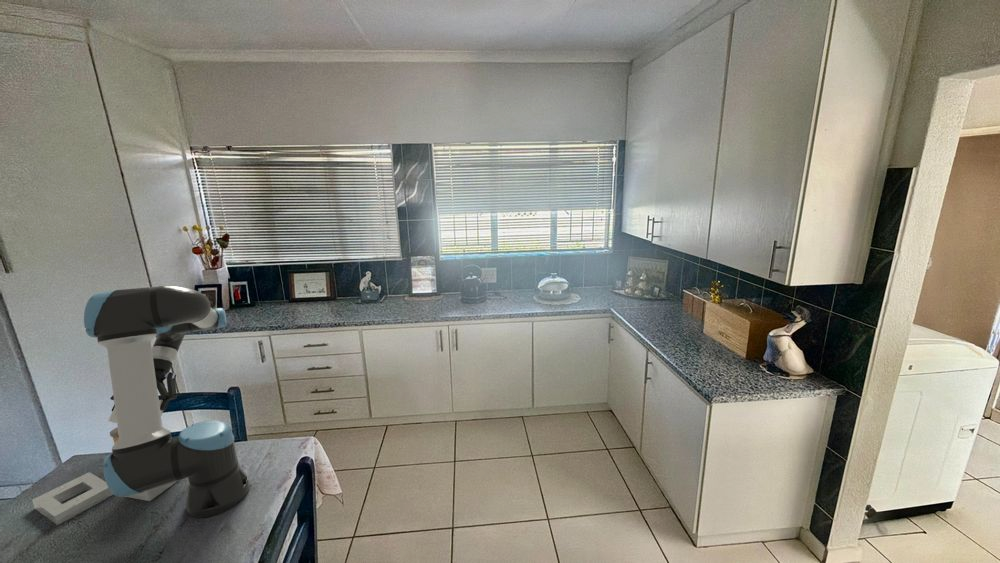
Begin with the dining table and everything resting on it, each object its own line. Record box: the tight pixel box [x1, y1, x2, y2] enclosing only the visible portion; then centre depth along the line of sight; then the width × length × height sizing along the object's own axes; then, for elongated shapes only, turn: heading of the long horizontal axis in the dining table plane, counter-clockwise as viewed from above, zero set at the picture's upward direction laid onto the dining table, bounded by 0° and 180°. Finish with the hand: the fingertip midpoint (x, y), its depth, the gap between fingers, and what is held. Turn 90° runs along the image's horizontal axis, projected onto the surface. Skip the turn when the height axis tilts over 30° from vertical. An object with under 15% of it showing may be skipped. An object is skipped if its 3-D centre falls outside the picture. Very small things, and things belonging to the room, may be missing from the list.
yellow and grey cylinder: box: [109, 426, 119, 445], centre depth 126 cm, size 6×6×13 cm
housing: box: [31, 472, 115, 526], centre depth 111 cm, size 14×12×3 cm
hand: (133, 421), depth 129 cm, fingers open, 13 cm apart
